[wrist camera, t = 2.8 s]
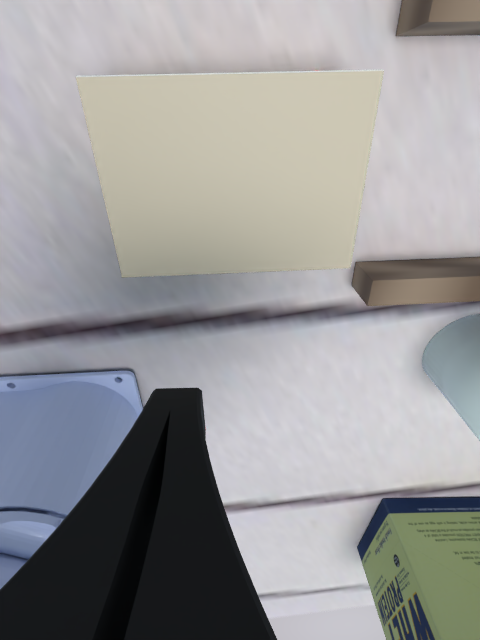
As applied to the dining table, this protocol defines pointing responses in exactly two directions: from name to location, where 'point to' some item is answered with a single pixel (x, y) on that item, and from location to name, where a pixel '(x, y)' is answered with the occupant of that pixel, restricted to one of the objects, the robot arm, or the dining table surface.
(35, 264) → the dining table surface
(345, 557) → the dining table surface
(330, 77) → the beige rectangular block
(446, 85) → the dining table surface
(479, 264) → the brown square frame
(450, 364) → the dome-topped pale cylinder
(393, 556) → the protein box
